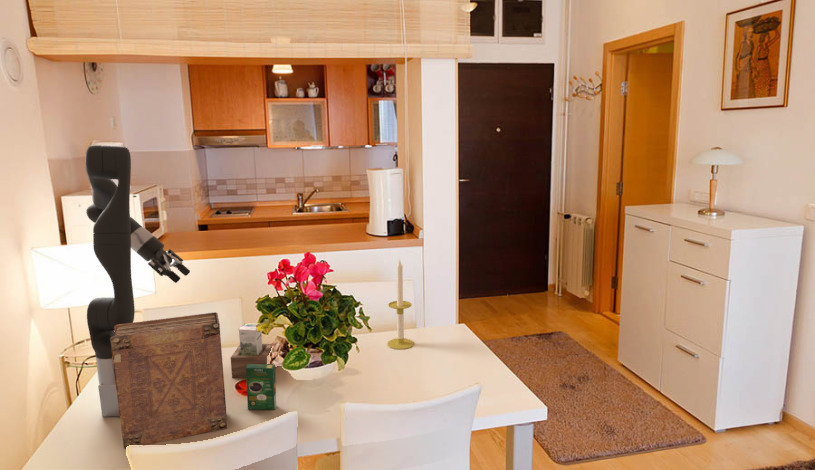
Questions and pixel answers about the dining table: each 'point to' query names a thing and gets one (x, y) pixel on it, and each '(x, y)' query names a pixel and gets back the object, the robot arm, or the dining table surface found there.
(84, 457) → the dining table surface
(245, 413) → the dining table surface
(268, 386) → the coffee box
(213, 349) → the book
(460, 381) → the dining table surface
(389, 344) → the candle
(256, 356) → the walnut socket
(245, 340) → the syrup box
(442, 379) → the dining table surface
